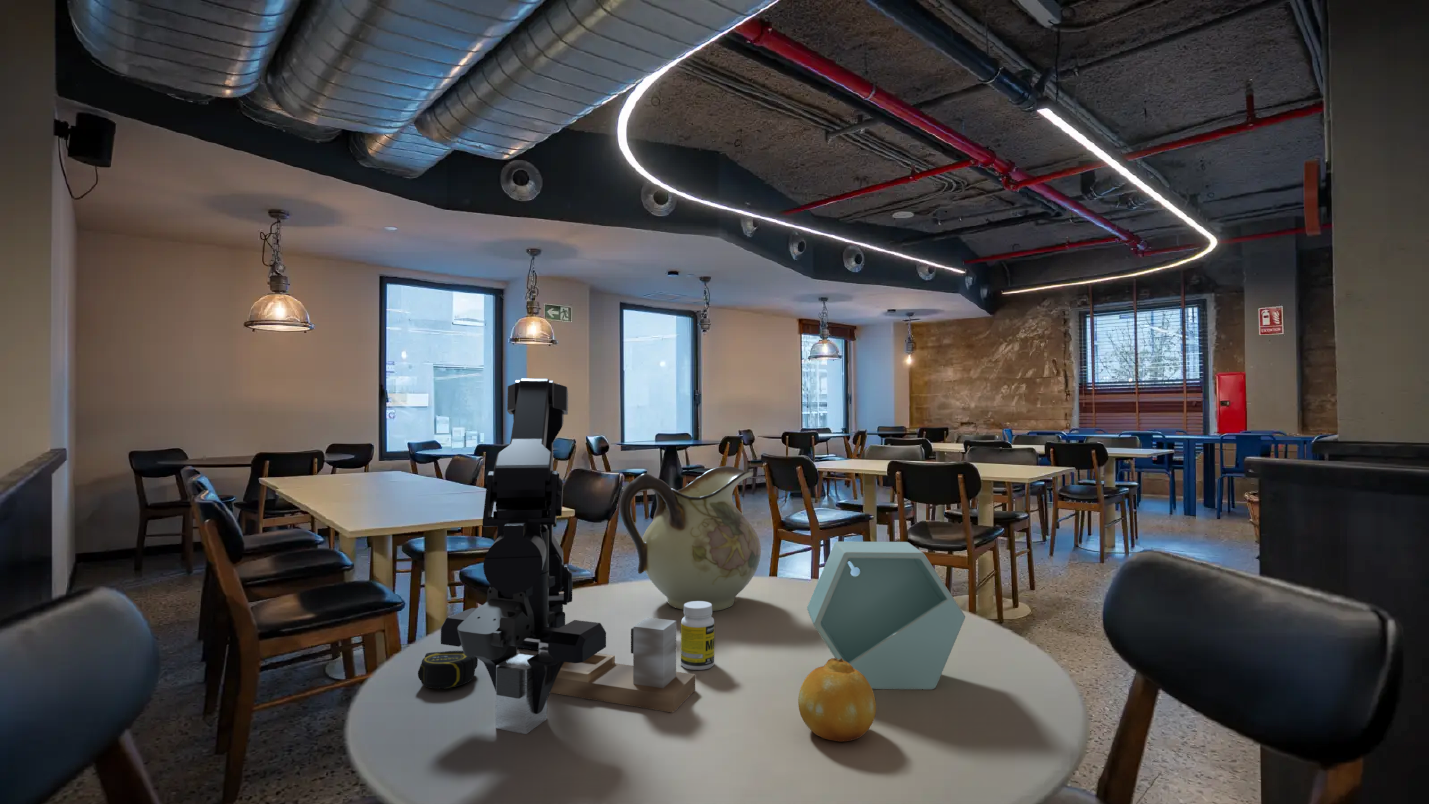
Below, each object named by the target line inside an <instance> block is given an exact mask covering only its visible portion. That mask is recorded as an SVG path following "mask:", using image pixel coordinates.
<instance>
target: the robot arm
mask: <svg viewBox="0 0 1429 804" xmlns="http://www.w3.org/2000/svg"><path fill="white" fill-rule="evenodd" d="M568 391H569V390H568V386H566V385H562V384H561V383H556V382H554V380H550V379H549V378H533V377H532V378H531V377H530V378H528V377H526V378H525V377H524V378H523V377H522V378H520V379H516V380H515V383H513V384H509V385H508V386H507V396H506V397H507V398H506V399H507V400H506V411H507V413H508V414H509V415H513V416H512V417H513V418H512V419H513V420H512V421H513V423H512V428H511V436H510V441H509V445H507V446H506V447H505V448H503V449H502V450H500V451H499V452H498V453H497V454H496V458H495V462H494V467H493V470H491V471H488V474H487V480H486V487H485V496H484V497H485V498H484V507H483V513H482V514H483V516H482V522H481V523H482V524H481V525H482V527H484V528H486V527H487V528H488V527H490V528H491V527H497V529H496V531H497V532H496V538H495V541H494V542H492V543H493V544H491V546H490V547H489V549H488V550H487V552H486V554H485V557H484V560H483V567H482V568H483V574H484V577H485V579H486V580H487V582H488V583H489V584H488V589H487V597H486V601H485V603H483V604H482V605H480V606H478V607H471V608H468V609H466V610H464V611H461V612H458V613H455V614H453V615H451V616H447V617H446V618H445V620H444V622H443V623H442V625H441V627H440V645H446V646H453V647H461V649H462V651H463V652H464V655H465V656H469V657H471V656H475V657H477V658H478V661H481V662H482V664H484V666H485V668H486V670H487V672H488V675H489V677H490V679H491V683H492V685H493V688H494V691H495V692H496V665H498V664H499V663H501V662H503V661H505V660H507V659H509V658H511V657H513V656H514V655H516V654H518V648H520V649H527V650H535V651H538V653H537V654H536V655H535V654H534V655H532V656H533V657H531V658H529V659H528V660H527V662H528V663H529V664H530V666H531V667H532V669H533V707H534V713H535V714H539V713H540V712H541V711H542V710H543V708H544V705H545V703H546V701H547V702H548V698H549V696H550V694H551V693H550V691H551V689H552V687H553V684H554V682H555V679H556V677H557V675H558V673H559V671H560V669H561V667H562V665H563V663H564V662H569V663H581V662H584V661H585V660H587V659H588V658H590V657H591V656H593V655H594V654H596V653H600V652H601V651H603V650H604V649H605V648H607V632H606V630H605V628H604V626H603V625H602V623H601V622H595V621H587V620H585V621H584V620H580V619H574V620H572V621H569V622H568V623H566V612H565V611H564V606H568V604H569V603H571V602H573V573H572V572H571V571H570V569H569V567H568V563H565V564H564V550H563V548H562V547H561V545H560V544H559V542H558V540H557V539H556V538H555V536H554V525H556V524H557V517H562V516H563V495H564V493H563V492H564V491H563V490H564V481H563V479H562V478H561V477H560V472H559V471H558V470H554V442H555V440H556V438H557V436H558V435H559V433H560V432H561V430H562V428H563V425H564V416H565V415H569V392H568ZM494 506H495V511H493V510H494Z"/></svg>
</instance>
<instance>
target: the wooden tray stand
mask: <svg viewBox="0 0 1429 804" xmlns="http://www.w3.org/2000/svg"><path fill="white" fill-rule="evenodd" d="M630 654H633V663H632V664H633V665H632V664H624V663H616V655H614V654H613V655H612V654H605V653H600V652H598V653H596V654H594V655H593V656H591V657H590V658H588V659H587V660H585V661H584V662H581V663H569V662H564V663H563V665H562V667H561V669H560V671H559V673H558V675H557V677H556V679H555V682H554V684H553V687H552V689H551V691H550V694H555V695H556V694H557V695H563V696H567V697H568V696H569V697H575V698H582V699H588V700H594V701H600V702H607V703H611V704H618V705H623V706H629V707H630V706H631V707H637V708H642V709H648V710H655V711H660V712H661V711H662V712H668V713H675V711H677V709H679V707H681V705H682V704H683V703H685V701H686V700H687V699H688V698H689V697H690V696H691V695H693V694H694V692H695V691H696V674H695V673H688V672H680V671H677V620H673V619H664V618H656V617H654V618H653V617H645V618H644V619H643V620H641V621H640V622H639V623H636V624H635V625H633V626H632V628H630Z"/></svg>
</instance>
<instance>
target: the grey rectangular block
mask: <svg viewBox="0 0 1429 804" xmlns="http://www.w3.org/2000/svg"><path fill="white" fill-rule="evenodd" d="M533 656H534V655H532V654H524V653H517V654H516V655H514V656H513V657H511V658H509V659H507V660H505V661H503V662H501V663H499V664H498V665H496V691H495V729H497V730H501V731H502V730H503V731H507V732H513V733H518V734H523V735H527V734H528V733H530V732H531V731H533V730H534V729H535V728H536V727H538V726H540V725H541V724H542V723H543V722H545V721H547V720H548V700H547V701H546V703H545V705H544V708H543V710H542V711H541V712H540V713H539V714H535V713H534V707H533V669H532V667H531V666H530V664H529V663H528V662H527V660H528V659H529V658H531V657H533Z"/></svg>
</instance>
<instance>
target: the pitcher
mask: <svg viewBox="0 0 1429 804" xmlns="http://www.w3.org/2000/svg"><path fill="white" fill-rule="evenodd" d="M753 475H754V471H753V470H752V469H748V470H746V471H745V470H743V469H740V468H738V467H734V466H728V465H727V466H726V465H725V466H724V465H723V466H718V467H715V468H711V469H709V470H707V471H705V472H704V473H702V475H699V476H697V477H696V478H695V479H694V480H693V481H691V482H690V483H689V484H687V485H686V486H685V487H684V486H683V488H680V489H678V490H677V489H675V488H672V487H670V485H668V483H666V482H665V481H664V480H662V479H660V478H658V477H655V476H654V475H652V474H650V473H645V472H644V473H642V474H640V475H638V476H636V478H634V479H633V480H631V481H630V482H629V483H628V484H627V486H626V487H625V488H624V490H623V491H622V493H621V496H620V500H619V514H620V515H619V516H620V517H621V521H622V523H623V526H624V528H625V530H626V531H627V532H628V535H629V536H630V538H631V540H632V542H633V544H634V546H635V548H636V551H637V556H638V567H637V572H638V574H643V573H644V572H645V574H646V575H647V577H648V579H649V580H650V581H651V583H652V584H653V585H654V587H655V588H656V589H657V590H659V591H660V593H662V594H663V595H664V596H665V597H666V599H667V603H668V605H670V607H673V608H674V609H679V610H682V611H684V604H685V603H687V602H692V601H705V602H709V603H711V604H712V612H718V611H723V610H725V609H728V608H731V607H732V606H734V604H735V600H736V599H735V598H736V596H737V595H739V594H740V593H741V592H742V591H743V590H744V589H745V587H747V586H748V584H749V583H750V582H751V580H752V579H753V577H754V576H755V574H756V572H757V570H758V567H759V564H760V561H761V556H762V555H761V554H762V550H761V549H762V548H761V541H760V538H759V534H758V533H757V531H756V529H755V528H754V527H753V524H751V522H750V521H749V520H748V519H747V518H746V516H745V515H744V514H743V513H742V512H741V511H740V510H739V509H738V508H737V506H736V505H735V503H734V501H733V493H734V490H735V488H736V486H737V485H738V484H739V483H741V481H743V480H745V479H747V478H750V477H752V476H753ZM649 490H652V491H653V492H654V494H655V498H656V509H655V511H654V515H653V519H652V522H651V523H650V524H649V525H648V526H647V528H646V530H645V531H644V534H643V535H642V536H641V534H640V532H639V531H638V528H637V527H636V524H635V522H634V519H633V517H632V512H631V509H632V508H631V505H632V502H633V499H634V498H635V496H637V494H638V493H641V492H643V491H644V492H645V491H649Z"/></svg>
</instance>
